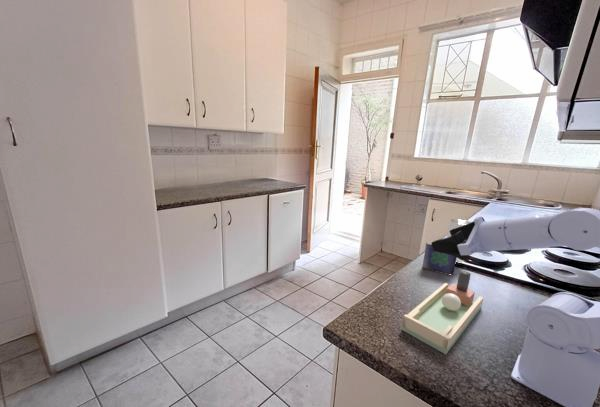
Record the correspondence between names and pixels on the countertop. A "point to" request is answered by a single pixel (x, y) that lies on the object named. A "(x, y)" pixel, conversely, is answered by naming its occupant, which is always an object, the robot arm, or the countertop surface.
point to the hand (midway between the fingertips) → (442, 240)
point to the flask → (438, 260)
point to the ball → (451, 302)
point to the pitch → (439, 320)
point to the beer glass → (454, 224)
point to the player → (462, 288)
